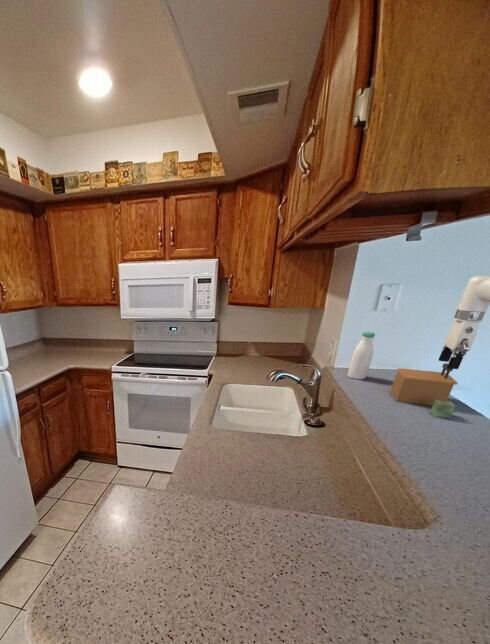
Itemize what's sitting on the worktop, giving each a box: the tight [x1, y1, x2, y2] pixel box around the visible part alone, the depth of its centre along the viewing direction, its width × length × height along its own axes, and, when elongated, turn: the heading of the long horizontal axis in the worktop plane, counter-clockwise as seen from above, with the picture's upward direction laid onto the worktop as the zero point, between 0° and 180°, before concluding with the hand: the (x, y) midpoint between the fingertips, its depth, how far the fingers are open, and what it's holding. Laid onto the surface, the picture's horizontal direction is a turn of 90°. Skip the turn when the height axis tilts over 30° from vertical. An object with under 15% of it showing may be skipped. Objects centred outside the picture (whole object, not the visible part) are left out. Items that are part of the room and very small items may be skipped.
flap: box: [397, 362, 458, 386], centre depth 123 cm, size 16×12×5 cm
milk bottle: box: [347, 331, 376, 380], centre depth 146 cm, size 8×8×20 cm
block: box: [430, 400, 456, 419], centre depth 114 cm, size 4×4×4 cm
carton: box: [390, 370, 455, 406], centre depth 126 cm, size 15×12×9 cm
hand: (447, 364), depth 120 cm, fingers open, 9 cm apart
